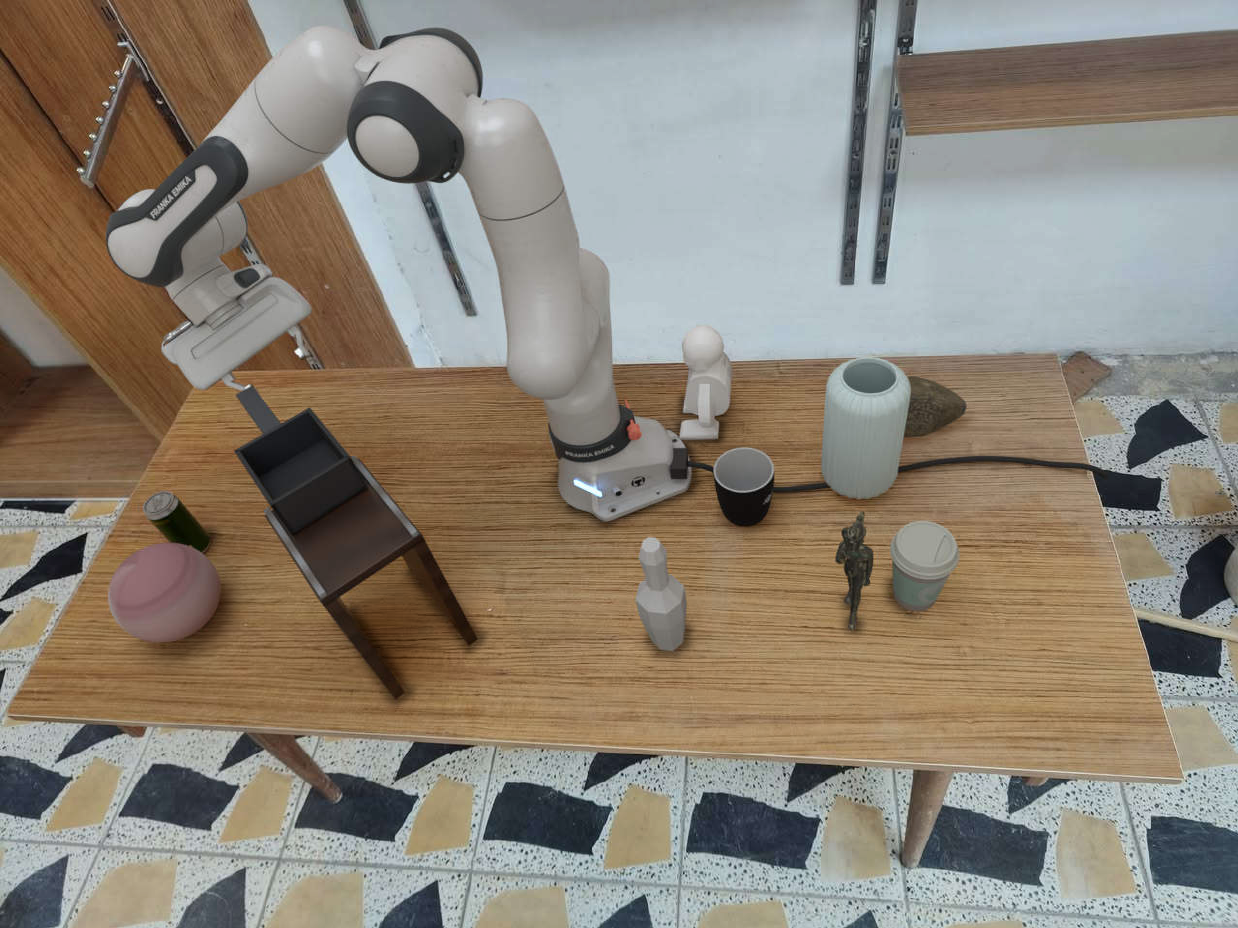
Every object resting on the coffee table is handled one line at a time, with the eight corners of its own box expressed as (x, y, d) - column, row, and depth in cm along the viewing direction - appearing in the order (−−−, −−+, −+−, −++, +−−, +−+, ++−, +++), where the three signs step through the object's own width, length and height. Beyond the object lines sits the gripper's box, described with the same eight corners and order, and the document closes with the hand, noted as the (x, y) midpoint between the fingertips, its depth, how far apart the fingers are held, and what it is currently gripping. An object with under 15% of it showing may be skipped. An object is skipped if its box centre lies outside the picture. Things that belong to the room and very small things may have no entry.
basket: (368, 487, 107) (350, 456, 102) (291, 535, 103) (270, 505, 99) (297, 400, 121) (279, 369, 116) (227, 439, 117) (206, 409, 113)
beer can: (212, 552, 139) (174, 508, 130) (181, 563, 138) (140, 520, 129) (212, 529, 142) (175, 485, 133) (181, 540, 141) (142, 496, 133)
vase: (812, 498, 128) (818, 396, 112) (829, 446, 135) (836, 342, 118) (888, 514, 124) (905, 410, 108) (901, 459, 131) (919, 354, 114)
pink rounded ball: (143, 602, 133) (86, 548, 122) (233, 564, 136) (186, 508, 125) (145, 676, 124) (84, 625, 113) (243, 634, 126) (192, 580, 115)
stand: (478, 639, 120) (419, 529, 100) (395, 699, 115) (316, 597, 95) (419, 566, 130) (356, 453, 111) (342, 618, 126) (261, 511, 106)
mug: (770, 537, 124) (769, 495, 117) (712, 530, 127) (708, 488, 119) (780, 478, 132) (780, 435, 124) (725, 472, 134) (722, 430, 127)
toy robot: (685, 391, 148) (675, 302, 133) (735, 391, 146) (730, 301, 132) (677, 448, 139) (666, 359, 125) (730, 448, 137) (725, 359, 123)
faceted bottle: (676, 663, 112) (660, 573, 96) (637, 644, 115) (615, 554, 99) (698, 627, 116) (686, 535, 100) (660, 610, 119) (641, 517, 102)
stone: (951, 398, 138) (959, 363, 132) (969, 436, 132) (978, 400, 126) (850, 412, 139) (853, 377, 133) (863, 449, 133) (867, 415, 127)
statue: (828, 632, 112) (835, 547, 98) (832, 593, 116) (840, 506, 102) (863, 638, 111) (876, 552, 96) (866, 598, 115) (880, 511, 100)
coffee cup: (911, 630, 111) (922, 581, 102) (870, 586, 116) (877, 535, 107) (960, 601, 113) (976, 551, 104) (918, 558, 118) (929, 507, 109)
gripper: (147, 344, 114) (218, 421, 118) (269, 257, 116) (334, 336, 120) (159, 342, 120) (226, 416, 124) (274, 260, 122) (336, 336, 126)
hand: (280, 376), depth 122 cm, fingers open, 8 cm apart
